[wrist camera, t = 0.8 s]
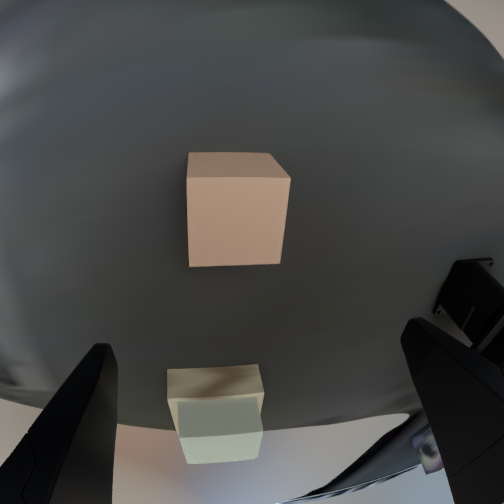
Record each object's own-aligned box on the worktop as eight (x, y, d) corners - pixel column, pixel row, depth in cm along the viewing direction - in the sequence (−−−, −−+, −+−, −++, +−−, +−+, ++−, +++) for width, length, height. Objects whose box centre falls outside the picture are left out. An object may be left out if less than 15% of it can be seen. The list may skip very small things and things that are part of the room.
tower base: (256, 361, 27) (264, 392, 24) (251, 404, 32) (256, 432, 29) (167, 365, 26) (167, 398, 23) (177, 409, 30) (178, 437, 27)
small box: (444, 410, 48) (465, 449, 39) (456, 408, 51) (476, 444, 42) (408, 438, 52) (425, 476, 44) (422, 435, 55) (439, 470, 46)
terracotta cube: (268, 152, 17) (290, 178, 14) (262, 223, 20) (279, 263, 16) (188, 152, 17) (186, 177, 13) (189, 224, 19) (189, 266, 15)
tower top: (255, 395, 25) (263, 431, 22) (250, 428, 28) (257, 458, 25) (177, 401, 23) (179, 437, 20) (185, 433, 27) (187, 464, 24)
